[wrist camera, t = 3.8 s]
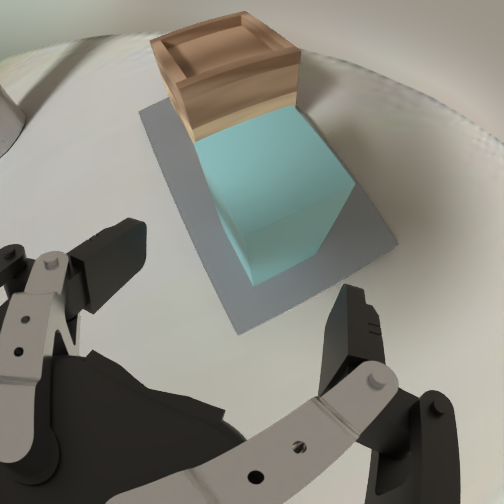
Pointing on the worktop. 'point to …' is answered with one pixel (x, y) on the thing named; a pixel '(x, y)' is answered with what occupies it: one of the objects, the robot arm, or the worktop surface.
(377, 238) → the baseplate
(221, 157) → the teal brick
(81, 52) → the worktop surface
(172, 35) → the wooden crate
